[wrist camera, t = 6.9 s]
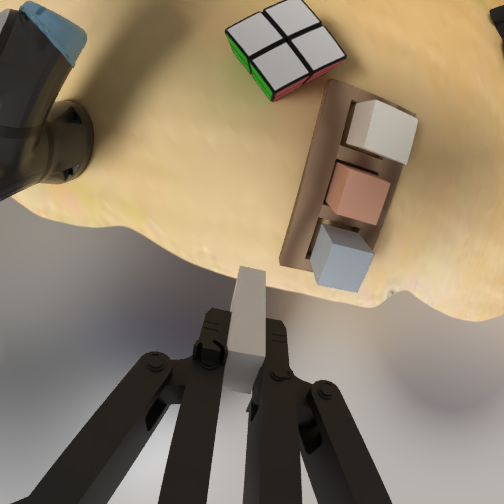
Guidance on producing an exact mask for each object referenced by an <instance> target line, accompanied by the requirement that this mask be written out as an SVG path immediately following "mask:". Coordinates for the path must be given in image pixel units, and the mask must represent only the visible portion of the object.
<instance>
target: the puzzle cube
mask: <svg viewBox="0 0 504 504" xmlns="http://www.w3.org/2000/svg"><path fill="white" fill-rule="evenodd" d="M321 23H322V22H321V21H320V19H319V18H318V17H317V16H316V15H315V14H314V12H313V11H312V10H311V9H310V8H309V7H308V5H307V4H306V3H305V2H304V1H303V0H283V1H281V2H279V3H276V4H274V5H272V6H270V7H267V8H265V9H264V10H263V12H257V13H255V14H253V15H251V16H249V17H247V18H245V19H243V20H241V21H239V22H237V23H235V24H234V25H232V26H230V27H228V28H226V30H225V33H226V36H227V38H228V40H229V43H230V45H231V48H232V50H233V53H234V54H235V55H236V56H237V58H238V59H239V60H240V61H241V63H242V64H243V65H244V66H245V68H246V69H247V70H248V72H249V73H250V74H252V75H253V78H254V79H255V81H256V82H257V83H258V85H259V86H260V87H261V89H262V90H263V91H264V93H265V94H266V96H267V97H268V98H269V100H270V101H273V102H274V101H276V100H277V99H279V98H281V97H282V96H284V95H286V94H288V93H290V92H291V91H293V90H295V89H297V88H299V87H300V86H301V85H304V84H306V83H308V82H310V81H312V80H314V79H316V78H318V77H320V76H322V75H324V74H326V73H328V72H329V71H330V70H332V69H333V68H334V67H335V66H337V65H338V64H340V63H341V62H342V61H344V60H345V59H346V56H347V55H346V54H345V52H344V51H343V49H342V48H341V47H340V45H339V44H338V43H337V41H336V40H335V38H334V37H333V36H332V35H331V33H330V32H329V31H328V29H327V28H326V27H325V26H323V25H321Z"/></svg>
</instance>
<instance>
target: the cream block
mask: <svg viewBox="0 0 504 504" xmlns="http://www.w3.org/2000/svg"><path fill="white" fill-rule="evenodd" d="M417 124H418V119H416V118H414V117H412V116H411V115H409V114H407V113H404V112H402V111H400V110H398V109H396V108H394V107H392V106H390V105H387V104H385V103H383V102H381V101H378V100H371V101H365V102H360V103H356V106H355V110H354V114H353V118H352V122H351V126H350V130H349V134H348V138H347V141H346V144H349V145H352V146H355V147H358V148H361V149H364V150H366V151H369V152H372V153H374V154H377V155H379V156H382V157H385V158H388V159H391V160H394V161H397V162H400V163H402V164H405V165H407V162H408V158H409V155H410V151H411V148H412V144H413V140H414V136H415V132H416V128H417Z"/></svg>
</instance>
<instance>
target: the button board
mask: <svg viewBox="0 0 504 504" xmlns="http://www.w3.org/2000/svg"><path fill="white" fill-rule="evenodd" d="M371 100H378V101H381V102H383V103H385V104H387V105H390V106H392V107H394V108H396V109H398V110H400V111H402V112H404V113H407V114H409V115H411V116H412V117H414V118H415V116H416V114H414V113H412V112H410V111H408V110H406V109H404V108H402V107H400V106H398V105H396V104H394V103H391V102H389V101H387V100H385V99H383V98H380V97H378V96H376V95H373V94H371V93H368V92H366V91H363V90H361V89H358V88H356V87H353V86H350V85H348V84H345V83H342V82H339V81H336V80H333V79H329V80H328V81H327V82H326V86H325V90H324V94H323V98H322V103H321V107H320V111H319V115H318V119H317V122H316V126H315V130H314V134H313V138H312V142H311V146H310V149H309V153H308V157H307V161H306V164H305V168H304V172H303V176H302V179H301V183H300V187H299V190H298V194H297V197H296V201H295V204H294V208H293V212H292V215H291V219H290V222H289V225H288V229H287V232H286V236H285V239H284V243H283V246H282V249H281V253H280V256H279V263H280V265H281V266H286V267H290V268H295V269H300V270H305V271H309V272H313V269H312V265H311V262H310V257H311V255H312V254H311V253H307V251H308V248H309V245H310V242H311V239H312V236H313V233H314V230H315V227H316V223H317V220H318V217H320V218H324V219H327V220H331V221H335V222H339V223H342V224H346V225H350V226H353V227H354V228H353V232H356V233H359V234H360V236H361V237H362V238H363V240H364V241H365V242H366V243H367V245H368V246H369V247H370V249H371V250H373V248H374V245H375V243H376V240H377V238H378V235H379V233H380V230H381V228H382V225H383V222H384V220H385V217H386V214H387V211H388V209H389V206H390V203H391V200H392V197H393V194H394V191H395V188H396V185H397V182H398V179H399V176H400V172H401V169H402V166H403V164H402V163H400V162H397V161H394V160H391V159H388V158H385V157H382V156H379V155H377V158H375V157H372V156H370V155H367V154H364V153H361V152H359V151H356V150H353V149H350V148H347V147H344V146H341V145H340V142H341V139H342V135H343V131H344V127H345V123H346V119H347V115H348V111H349V107H350V103H354V104H356V103H360V102H365V101H371ZM336 159H339V160H343V161H346V162H349V163H352V164H355V165H358V166H361V167H363V168H366V169H369V170H372V174H374V175H376V176H378V177H380V178H382V179H383V180H385V181H387V182H389V183H391V184H390V187H389V190H388V193H387V196H386V199H385V202H384V205H383V207H382V210H381V213H380V216H379V219H378V221H377V224H376V225H373V224H369V223H366V222H362V221H359V220H356V219H352V218H349V217H345V216H341V215H338V214H335V212H334V211H333V210H332V208H331V207H330V206H329V204H328V203H327V202H325V201H324V198H325V195H326V191H327V188H328V185H329V181H330V178H331V174H332V171H333V167H334V164H335V160H336Z"/></svg>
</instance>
